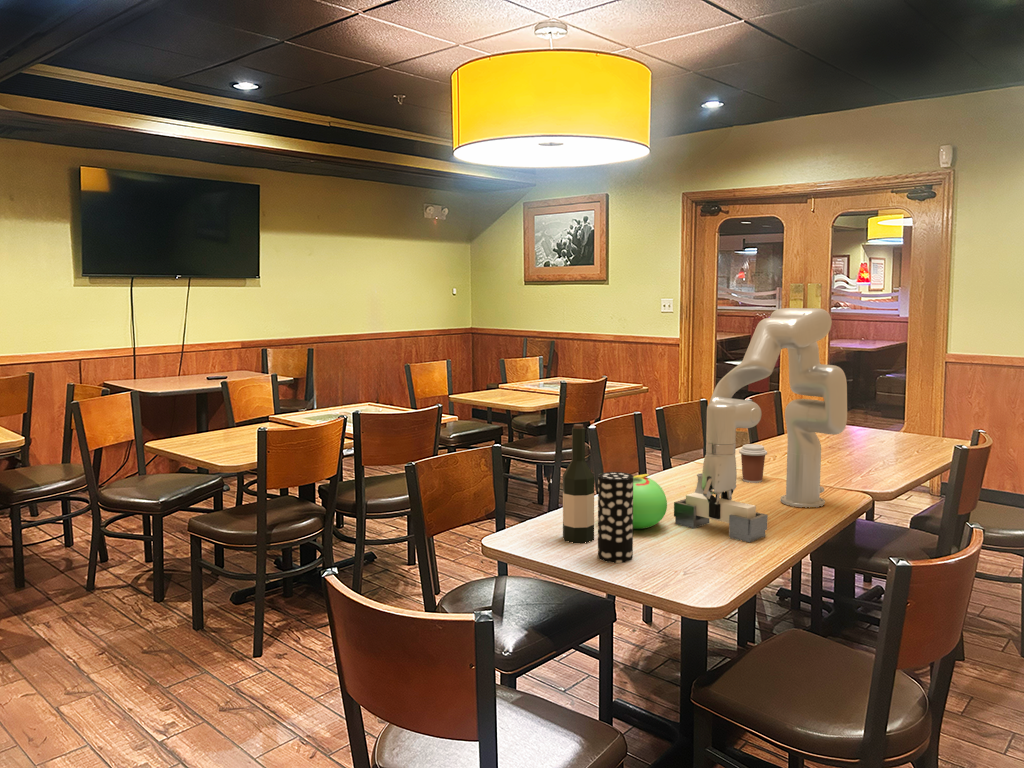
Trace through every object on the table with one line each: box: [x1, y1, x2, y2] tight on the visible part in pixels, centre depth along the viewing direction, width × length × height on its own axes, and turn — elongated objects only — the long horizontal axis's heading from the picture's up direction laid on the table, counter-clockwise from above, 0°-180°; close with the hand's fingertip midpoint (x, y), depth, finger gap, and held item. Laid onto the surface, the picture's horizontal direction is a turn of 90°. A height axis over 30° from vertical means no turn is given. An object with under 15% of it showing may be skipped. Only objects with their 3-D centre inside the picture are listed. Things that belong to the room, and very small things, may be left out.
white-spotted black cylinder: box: [597, 471, 634, 564], centre depth 185 cm, size 8×8×20 cm
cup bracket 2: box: [728, 511, 769, 543], centre depth 201 cm, size 8×6×6 cm
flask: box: [694, 473, 704, 494], centre depth 230 cm, size 7×7×10 cm
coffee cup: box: [738, 443, 768, 484], centre depth 263 cm, size 9×9×12 cm
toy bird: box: [633, 473, 668, 530], centre depth 211 cm, size 18×17×15 cm
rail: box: [685, 492, 757, 524], centre depth 207 cm, size 4×19×5 cm, turn 42°
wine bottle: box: [562, 423, 595, 544], centre depth 199 cm, size 8×8×30 cm
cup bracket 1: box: [673, 498, 711, 529], centre depth 214 cm, size 8×6×6 cm
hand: (719, 515), depth 207 cm, fingers closed on rail, 4 cm apart
